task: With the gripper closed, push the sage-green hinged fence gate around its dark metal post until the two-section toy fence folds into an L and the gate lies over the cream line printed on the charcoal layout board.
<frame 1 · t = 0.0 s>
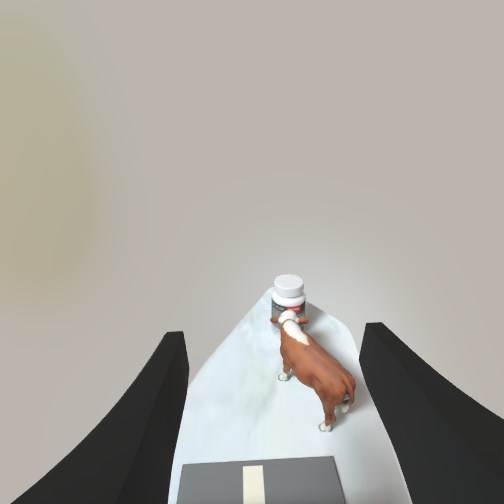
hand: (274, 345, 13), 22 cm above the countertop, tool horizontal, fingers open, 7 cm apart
bull figurine: (305, 391, 37), on the countertop
pill bottle: (287, 331, 47), on the countertop
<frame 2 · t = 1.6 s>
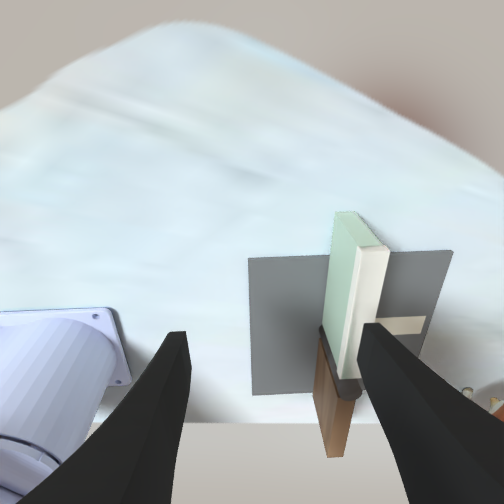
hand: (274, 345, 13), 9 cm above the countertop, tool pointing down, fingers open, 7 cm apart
layout board: (338, 330, 25), on the countertop
bull figurine: (494, 370, 29), on the countertop
fence section: (326, 326, 25), resting on layout board
fence gate: (347, 295, 20), point 3 cm above the countertop, hinge at 0.0°
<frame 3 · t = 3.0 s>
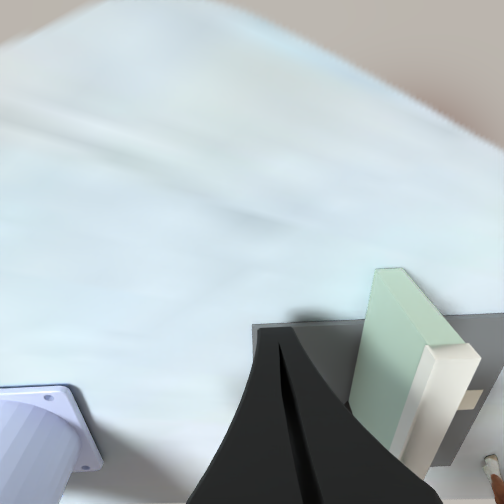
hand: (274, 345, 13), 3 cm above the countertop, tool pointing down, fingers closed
layout board: (368, 405, 20), on the countertop
fence gate: (392, 386, 14), point 3 cm above the countertop, hinge at 0.0°
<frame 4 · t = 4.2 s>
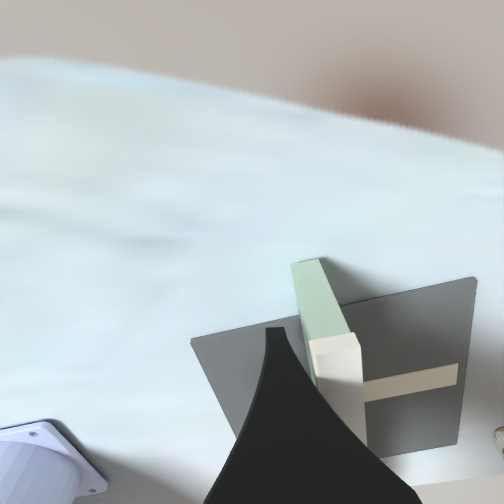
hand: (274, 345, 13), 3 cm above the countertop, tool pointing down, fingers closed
layout board: (342, 396, 19), on the countertop
fence gate: (329, 379, 14), point 3 cm above the countertop, hinge at 2.0°, touching gripper
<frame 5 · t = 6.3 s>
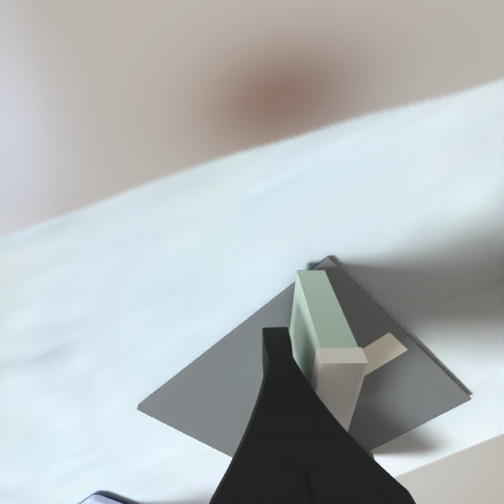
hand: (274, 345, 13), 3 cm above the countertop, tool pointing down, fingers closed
layout board: (306, 399, 19), on the countertop
fence gate: (309, 389, 14), point 3 cm above the countertop, hinge at 46.3°, touching gripper
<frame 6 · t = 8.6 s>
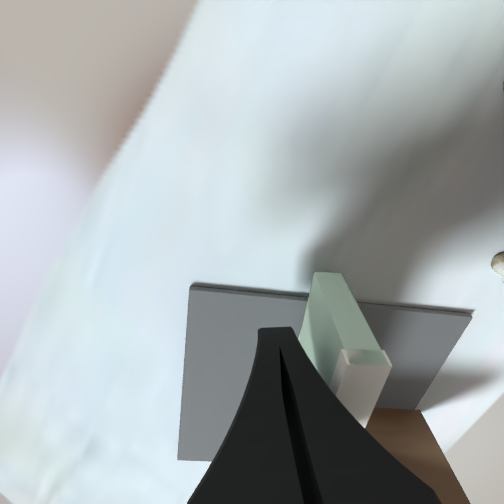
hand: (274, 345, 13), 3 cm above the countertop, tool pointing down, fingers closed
layout board: (303, 394, 19), on the countertop
fence section: (291, 404, 19), resting on layout board
fence gate: (320, 390, 14), point 3 cm above the countertop, hinge at 86.4°, touching gripper
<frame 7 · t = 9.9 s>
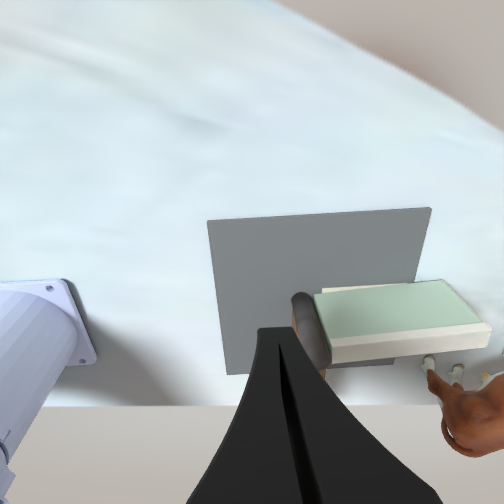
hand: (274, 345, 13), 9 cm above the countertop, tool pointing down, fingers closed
layout board: (313, 301, 23), on the countertop
bull figurine: (486, 344, 27), on the countertop
fence section: (300, 297, 23), resting on layout board
fence gate: (392, 317, 20), point 3 cm above the countertop, hinge at 86.4°
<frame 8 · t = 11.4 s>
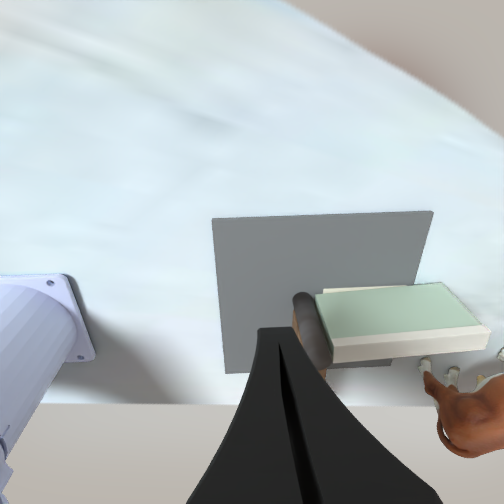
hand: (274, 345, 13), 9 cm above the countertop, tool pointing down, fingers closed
layout board: (314, 301, 24), on the countertop
bull figurine: (482, 348, 27), on the countertop
fence section: (301, 297, 23), resting on layout board
fence gate: (392, 318, 21), point 3 cm above the countertop, hinge at 86.4°
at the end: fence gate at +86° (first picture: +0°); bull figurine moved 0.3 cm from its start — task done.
